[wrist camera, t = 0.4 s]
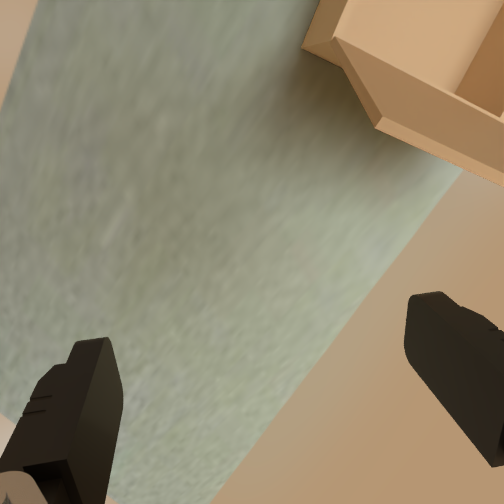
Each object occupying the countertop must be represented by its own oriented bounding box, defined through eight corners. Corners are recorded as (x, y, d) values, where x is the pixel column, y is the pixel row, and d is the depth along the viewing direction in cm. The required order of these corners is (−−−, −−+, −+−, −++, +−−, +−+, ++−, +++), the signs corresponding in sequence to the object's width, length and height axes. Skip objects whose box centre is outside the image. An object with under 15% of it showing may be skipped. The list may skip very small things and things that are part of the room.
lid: (382, 116, 18) (374, 128, 18) (620, 228, 22) (610, 235, 22) (334, 35, 27) (330, 44, 28) (506, 125, 32) (501, 131, 32)
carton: (371, -127, 31) (427, -189, 23) (521, -26, 35) (608, -52, 28) (300, 47, 35) (330, 40, 28) (443, 118, 39) (500, 127, 32)
